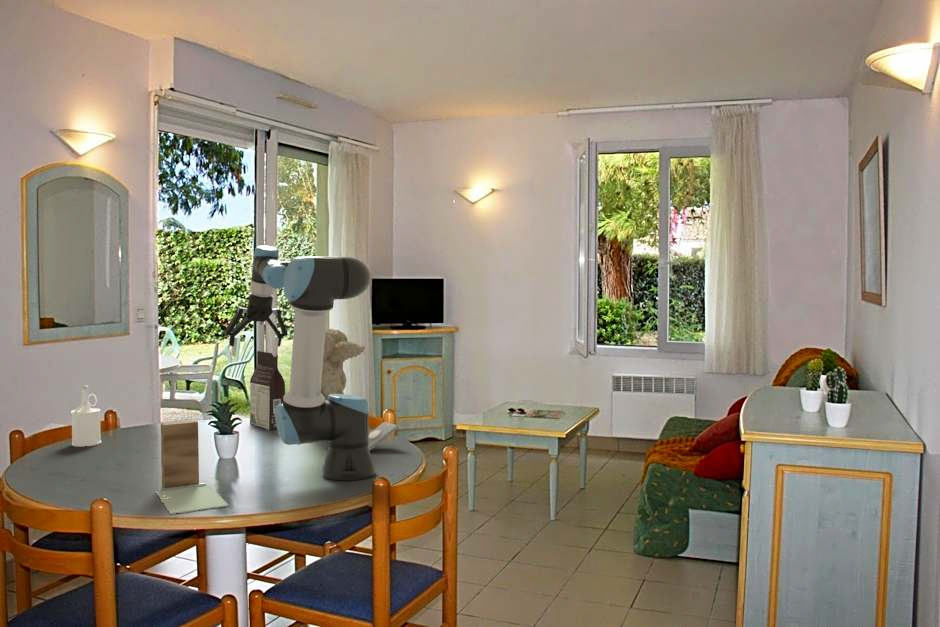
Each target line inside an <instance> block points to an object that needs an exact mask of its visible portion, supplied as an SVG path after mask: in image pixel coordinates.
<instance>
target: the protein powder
mask: <svg viewBox="0 0 940 627" xmlns="http://www.w3.org/2000/svg"><path fill="white" fill-rule="evenodd" d="M278 360H279V356H278V354H277V356H276V357H274V356H273V355H272V352H267V351H261V350H257V352H256V361H257V362H256V363H257V364H256V367H255V369H254V371H253V373H252V375H251V378H250V380H249V388H250V389H249V393H250V394H249V396H250V398H249V399H250V406H249V407H250V409H249V410H250V412H249V413H250V414H249V415H250V416H249V424H250V425H253V424H254V425H253V426H257V427H260V428H263V429H265V430H267V431H273V430H272V429H275V430H277V426H276V421H275V408H276V405H278V404H283V397H284V395H285V394H286V384H285V380H284V377H283V375H282V374H281V372H280V370H279V369H278Z"/></svg>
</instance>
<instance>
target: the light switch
mask: <svg viewBox="0 0 940 627" xmlns="http://www.w3.org/2000/svg"><path fill="white" fill-rule="evenodd" d="M398 429H400V426H399V425H397V424H394V423H390V422H386V421H382V423H380V424H379V425H378V426H377V427H376V428H374V429H373V430H371V431H369V450H370V451H371V450H373V449H374V448H376V447H377V446H378V445H379V444H381V443H382V442H383V441H384V440H385V439H387V438H388V437H389V436H391V435H392V434H393V433H395V432H396V431H397V430H398Z"/></svg>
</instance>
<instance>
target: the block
mask: <svg viewBox="0 0 940 627" xmlns="http://www.w3.org/2000/svg"><path fill="white" fill-rule="evenodd" d="M199 449H200V448H199V421H197V420H196V419H195V418H192V419H183V420H172V421H170V420H169V421H162V422H160V451H161V452H160V454H161V455H160V456H161V457H160V458H161V460H160V461H161V463H160V464H161V488H162V487H163V488H166V487H174V486H182V485H190V484H198V483H200V467H199V466H200V462H199V460H200V459H199V458H200V457H199V454H200V453H199Z"/></svg>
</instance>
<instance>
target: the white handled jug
mask: <svg viewBox="0 0 940 627" xmlns="http://www.w3.org/2000/svg"><path fill="white" fill-rule="evenodd" d="M81 388H82V389H81V402H80V405H79V406H77V407H76V409H73V410H71V411H70V414H71V438H72V439H71V440H72V442H71V446H73V447H76V448H77V447H79V448H86V447H85V446H87V447H93V446H97V445H101V444H102V440H101V439H102V438H101V409H100V408H99V407H98V408H97V407H95V408H94V406H96V405H97V403H98V397H97V396H96V394H95V393H90V394H89V385H82V387H81ZM91 396H93V397H94V399H95V403H94V405H93V404H91V402H90V400H91V399H90V398H91Z"/></svg>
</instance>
